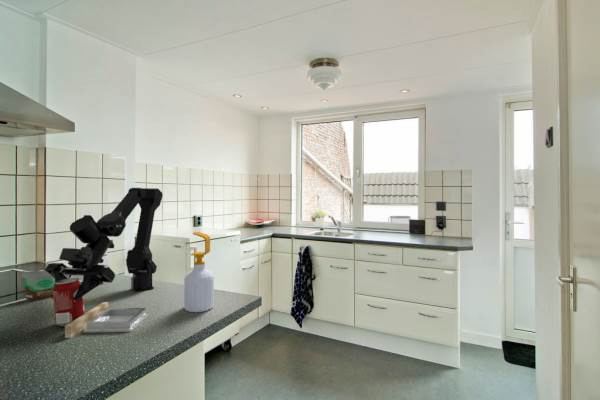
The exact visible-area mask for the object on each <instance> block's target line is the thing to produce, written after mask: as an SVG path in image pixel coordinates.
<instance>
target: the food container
mask: <svg viewBox="0 0 600 400" xmlns="http://www.w3.org/2000/svg"><path fill="white" fill-rule="evenodd" d="M45 269H46V268H42V269H38V270H33V271H31V270H30V271H28V270H27V271H26V270H22V272H21V274H20V277H21V278H23V284H24V285H23V286H24V293H25V298H26V300H27V299H30V300H29V301H39V300H41V301H42V300H47V299H52V298H51V297H52V293H53V288H54V284H55V278H54V277H53V276H51V275H50V274H49V273H48V272H46V271H45Z"/></svg>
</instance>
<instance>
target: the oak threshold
mask: <svg viewBox="0 0 600 400" xmlns="http://www.w3.org/2000/svg"><path fill="white" fill-rule="evenodd" d="M107 309H109V301H108V302H107V301H105V302H104V301H103V302H102V303H100V304H98V305H96V306H95V307H93V308H92V309H90V310H89V311H87V312H85V314H84V315H82V316H80V317H79V318H77V319H76V320H74V321H72V322H71V323H69V324H68V325H66V326H64V338H65V339H67V338H69V339H71V338H73V337H74V336H76V335H77V334H78V333H80V332H82V331H84V329H85V328H87V323H88V322H89V321H91V320H92V319H94V318H95V317H97V316H98V315H100V314H101V313H103V312H104V311H106V310H107Z"/></svg>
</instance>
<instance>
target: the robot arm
mask: <svg viewBox="0 0 600 400" xmlns="http://www.w3.org/2000/svg"><path fill="white" fill-rule="evenodd" d="M163 196H164V195H163V192H162V191H161V190H160V189H159V188H158V187H157V188H153V187H151V188H150V187H149V188H148V187H147V188H146V187H145V188H144V187H131V188H128V191H127V194H125V196H124V197H123V198H122V199H121V201H120V202H119V203H118V204H117V206H115V208H114V209H113V210H112V211H111V212H109V213H106V214H104V215H102V216H101V218H99V219H98V220H97V221H95V219H94V218H93V216H92V215H91V214H85V215H83V216H82V217H81V218H78V219H76V220H75V221H73V222H72V223H70V225H69V231H70V232H71V233H72V234H73V235H74V236H75V237H76V238H77V240H79V241H80V242H81V243H82V244H85V246H82V247H81V248H74V247H73V248H72V247H71V248H70V247H63V248H62V250H61V252H60V255H59V257H58V260H60V261H66V262H67V265H68V266H69V267H68V266H67V265H66V264H65V263H63V262H50V263H48V264H47V266H46V267H45V268H44V269H45V271H46V272H48V273H49V274H50V275H51V276H53V277H54V278H55V282H57V281H60V280H64V279H70V278H72V276H83V278H82V281H81V285H80V286H79V289H78V291H77V293H76V295H75V297H74V298H73V300H75V301H76V300H78V299H80V298H81V297H82V296H83V297H85V295H86V294H88V293H89V292H91V291H93V290H94V289H95V288H97V287H99V286H100V285H104V283H110V284H111V283H113V281H114V280H115V277H116V274H115V272H114V271H113V270H112V268H110V267H109V266H108V264H107V265H98V264H99V263H103V261H104V260H103V259H102V257H103V256H104V254H105V252H106V251H107V252H108V249H115V244H114V240H113V239H110V238H109V237H114V238H117V237H120V236H121V235H122V233H123V231H124V230H125V228H126V226H127V225H126V224H127V223H126V222H127V221H126V220H127V219H128V217H129V216H130V215H131V213H132V212H133V211H134V209H135V208H136V207H137V205H139V208H140V215H139V219H138V225H137V232H136V237H135V243H134V246H133V247H132V249H128V250H127V254H126V255H127V256H126V259H125V263H126V265H125V266H126V268H127V272H128V274H132V277H130V289H132V290H133V291H135V292H143V291H148V290H152V289H155V287H154V286H153V274H155V273H156V272H157V267H158V266H157V265H156V263H155V262H154V260H153V252H152V251H151V249H150V243H151V237H152V229H153V224H154V217H155V212H156V210H157V209H158V208H160V206H161V203H162V199H163ZM70 266H71V267H70ZM55 285H56V284H54V286H55ZM50 299H52V300H53V293H52V297H51V298H50Z"/></svg>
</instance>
